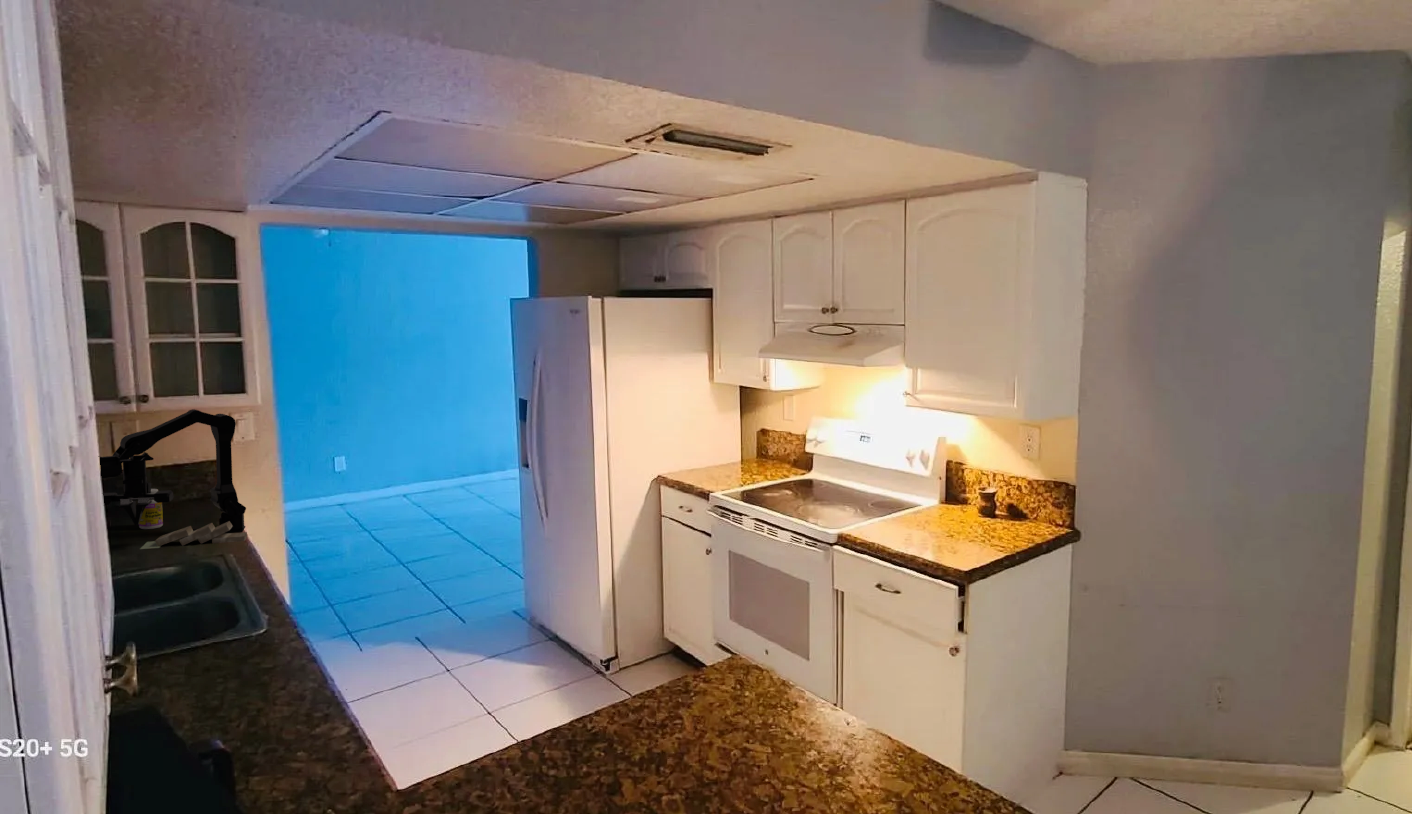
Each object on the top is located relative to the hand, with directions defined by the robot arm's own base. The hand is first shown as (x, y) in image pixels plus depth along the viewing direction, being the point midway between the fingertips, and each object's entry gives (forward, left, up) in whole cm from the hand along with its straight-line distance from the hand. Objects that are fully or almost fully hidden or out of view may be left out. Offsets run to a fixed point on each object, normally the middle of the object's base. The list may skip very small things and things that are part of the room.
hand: (136, 524), depth 244 cm
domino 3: (-20, 0, -6) cm, 21 cm away
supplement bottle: (+2, -24, -7) cm, 25 cm away
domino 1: (-12, 0, -6) cm, 13 cm away
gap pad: (-4, 0, -7) cm, 8 cm away
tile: (-6, 0, -6) cm, 8 cm away
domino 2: (-17, 0, -6) cm, 18 cm away
